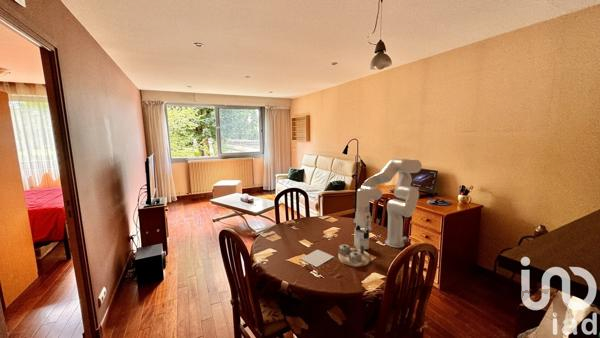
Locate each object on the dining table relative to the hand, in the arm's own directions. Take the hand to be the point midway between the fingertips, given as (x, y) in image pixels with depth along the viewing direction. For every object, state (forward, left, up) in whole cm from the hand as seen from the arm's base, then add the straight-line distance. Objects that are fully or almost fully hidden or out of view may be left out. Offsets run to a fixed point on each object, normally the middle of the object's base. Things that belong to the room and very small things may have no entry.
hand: (362, 235), depth 148 cm
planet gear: (0, 0, -1) cm, 1 cm away
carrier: (+6, 0, -13) cm, 15 cm away
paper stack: (+28, -5, -14) cm, 32 cm away
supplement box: (-8, -10, -14) cm, 18 cm away
